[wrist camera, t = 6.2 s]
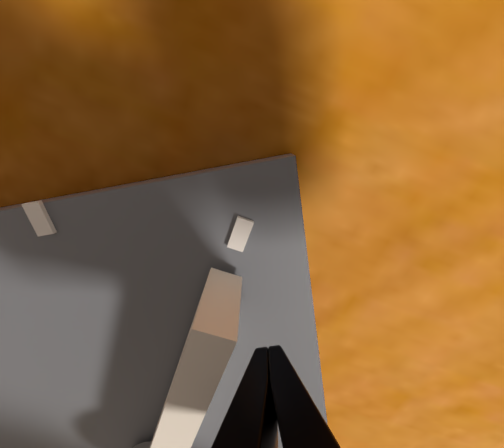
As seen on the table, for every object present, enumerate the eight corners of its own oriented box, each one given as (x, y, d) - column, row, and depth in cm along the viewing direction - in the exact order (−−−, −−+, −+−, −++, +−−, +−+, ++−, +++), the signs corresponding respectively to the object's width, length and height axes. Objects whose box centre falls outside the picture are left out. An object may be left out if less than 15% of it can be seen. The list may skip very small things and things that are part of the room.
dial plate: (327, 447, 15) (333, 472, 14) (30, 477, 16) (14, 502, 15) (290, 150, 9) (295, 152, 8) (-173, 237, 10) (-224, 250, 9)
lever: (178, 480, 14) (159, 570, 11) (124, 469, 13) (89, 558, 11) (265, 284, 9) (270, 350, 6) (186, 259, 9) (155, 319, 6)
